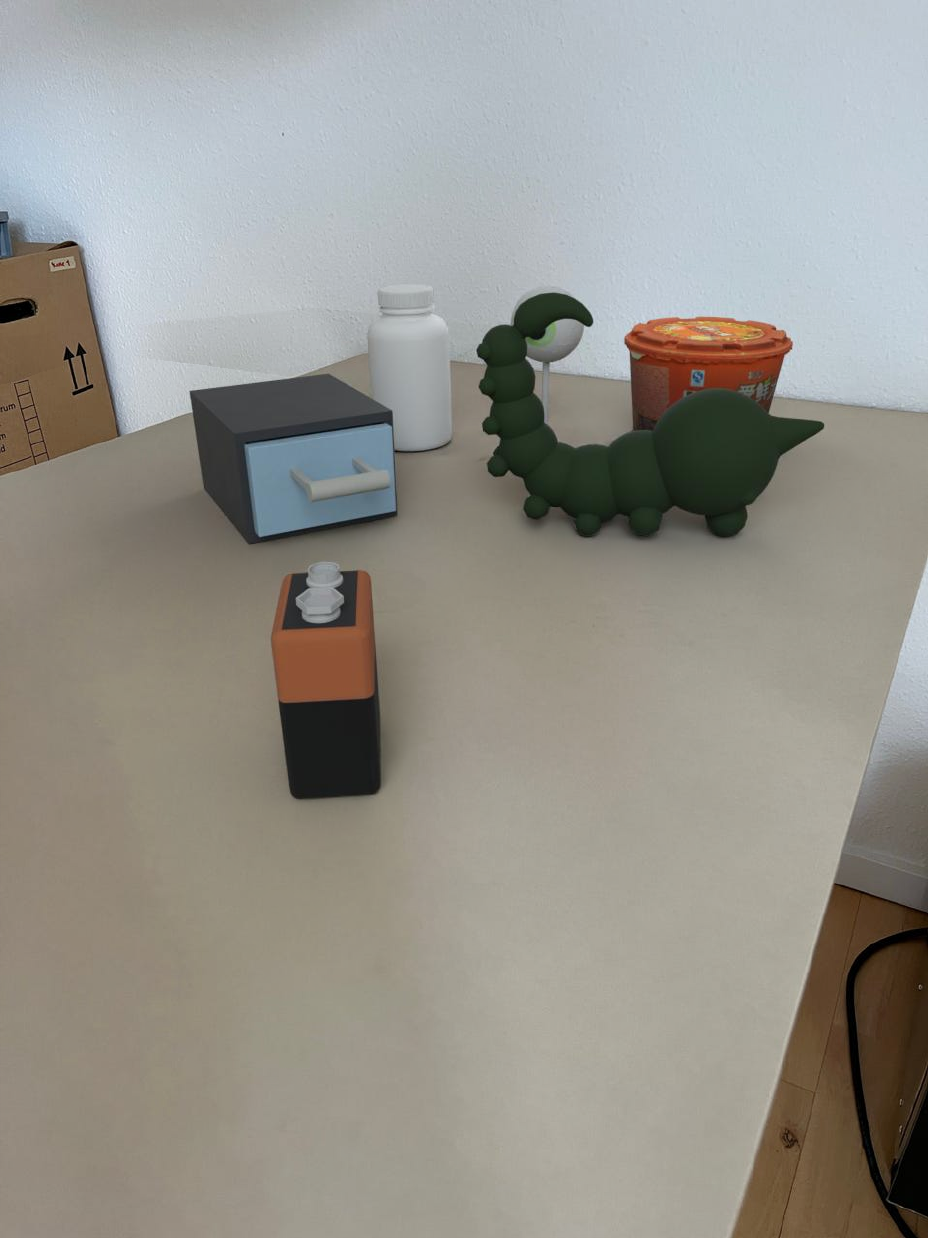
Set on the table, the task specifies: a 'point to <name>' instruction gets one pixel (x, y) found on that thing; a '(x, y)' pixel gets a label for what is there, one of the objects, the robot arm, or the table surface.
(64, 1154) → the table surface
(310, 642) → the battery
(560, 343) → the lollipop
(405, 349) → the pill bottle
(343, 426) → the dark grey box
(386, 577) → the table surface
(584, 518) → the toy figurine
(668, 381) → the food container
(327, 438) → the drawer
